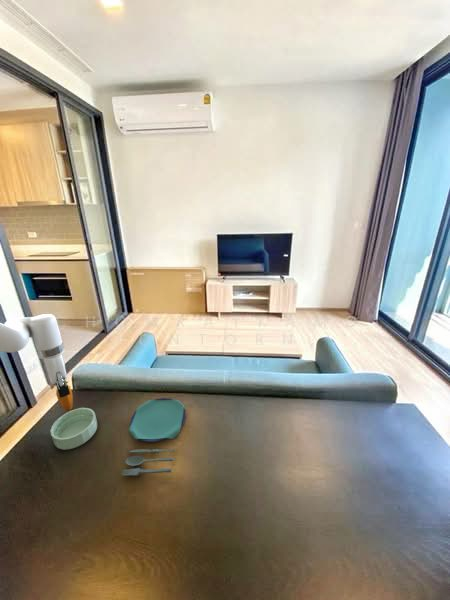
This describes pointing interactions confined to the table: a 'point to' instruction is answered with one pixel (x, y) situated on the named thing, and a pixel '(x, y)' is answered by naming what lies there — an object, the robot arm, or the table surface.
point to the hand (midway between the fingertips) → (63, 391)
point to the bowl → (74, 428)
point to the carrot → (66, 399)
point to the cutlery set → (155, 429)
